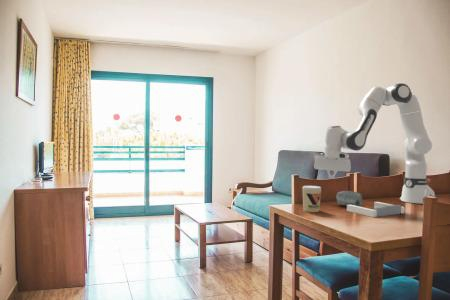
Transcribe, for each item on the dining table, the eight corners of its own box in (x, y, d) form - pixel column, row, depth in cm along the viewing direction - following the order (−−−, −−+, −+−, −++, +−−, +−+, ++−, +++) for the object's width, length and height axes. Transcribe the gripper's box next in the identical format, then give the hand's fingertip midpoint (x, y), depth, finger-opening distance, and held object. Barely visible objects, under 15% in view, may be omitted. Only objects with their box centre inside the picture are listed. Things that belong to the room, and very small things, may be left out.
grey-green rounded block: (367, 200, 201) (360, 185, 199) (362, 210, 195) (355, 194, 193) (344, 203, 211) (337, 188, 209) (338, 212, 204) (331, 197, 202)
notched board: (377, 207, 200) (377, 199, 199) (404, 213, 186) (404, 205, 185) (346, 210, 188) (346, 202, 188) (372, 217, 174) (373, 208, 174)
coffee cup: (306, 212, 182) (307, 188, 181) (298, 208, 191) (299, 185, 190) (323, 212, 184) (324, 188, 183) (315, 208, 193) (316, 185, 192)
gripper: (313, 153, 214) (312, 177, 215) (350, 155, 205) (348, 180, 205) (315, 153, 220) (314, 176, 220) (351, 155, 210) (350, 179, 211)
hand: (331, 178), depth 213 cm, fingers closed
